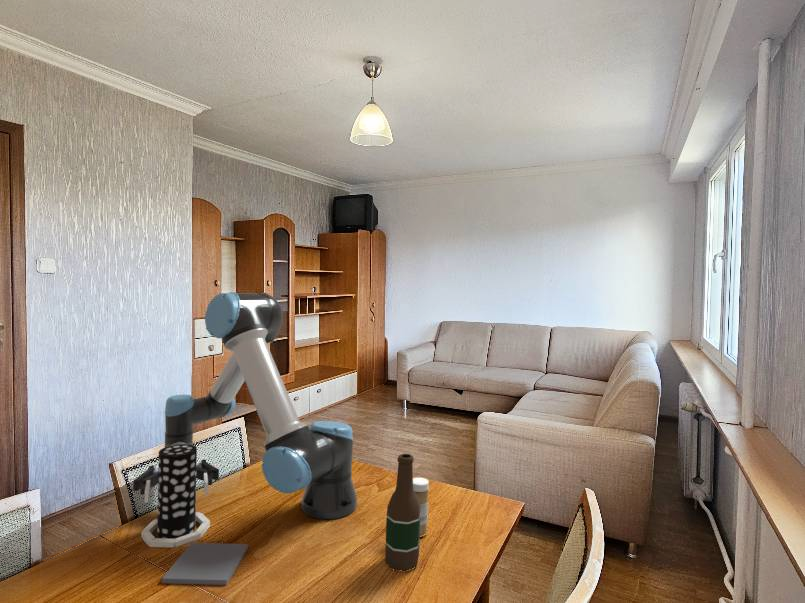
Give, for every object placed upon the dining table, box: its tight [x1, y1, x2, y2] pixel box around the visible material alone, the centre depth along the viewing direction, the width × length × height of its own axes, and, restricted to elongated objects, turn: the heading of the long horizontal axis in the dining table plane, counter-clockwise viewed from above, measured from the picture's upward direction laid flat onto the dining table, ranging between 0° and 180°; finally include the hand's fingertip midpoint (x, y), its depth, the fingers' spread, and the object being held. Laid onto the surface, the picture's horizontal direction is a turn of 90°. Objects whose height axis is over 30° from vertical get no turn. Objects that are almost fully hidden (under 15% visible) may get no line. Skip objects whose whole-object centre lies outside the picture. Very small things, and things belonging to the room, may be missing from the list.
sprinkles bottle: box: [413, 477, 430, 536], centre depth 114 cm, size 5×5×14 cm
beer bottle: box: [384, 453, 421, 572], centre depth 102 cm, size 8×8×24 cm
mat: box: [161, 542, 249, 586], centre depth 99 cm, size 13×13×1 cm
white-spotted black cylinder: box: [156, 444, 198, 539], centre depth 112 cm, size 8×8×20 cm
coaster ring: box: [140, 511, 211, 549], centre depth 112 cm, size 14×14×1 cm
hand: (177, 492), depth 109 cm, fingers open, 12 cm apart
